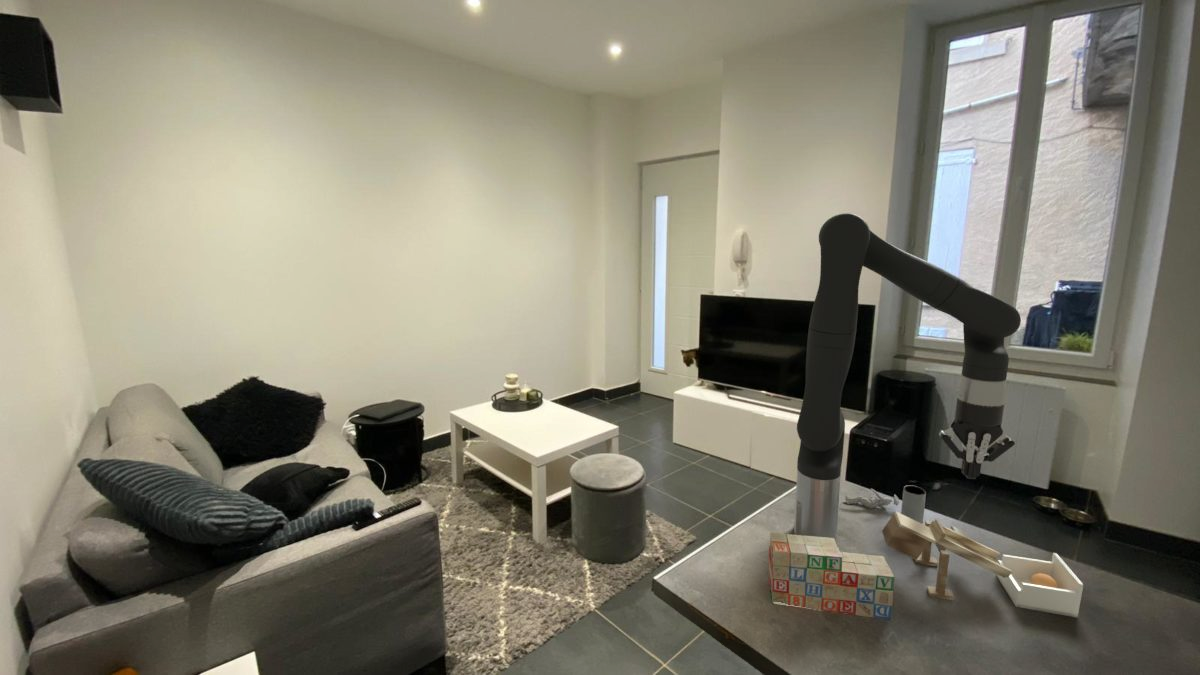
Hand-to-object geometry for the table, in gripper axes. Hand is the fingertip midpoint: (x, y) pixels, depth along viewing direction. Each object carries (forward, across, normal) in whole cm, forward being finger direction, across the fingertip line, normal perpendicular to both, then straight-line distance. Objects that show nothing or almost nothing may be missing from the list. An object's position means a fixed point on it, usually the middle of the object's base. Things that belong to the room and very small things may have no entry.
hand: (969, 476), depth 100 cm
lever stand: (+20, -7, -7) cm, 23 cm away
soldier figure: (+21, -14, +19) cm, 32 cm away
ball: (+18, +12, -7) cm, 22 cm away
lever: (+17, -7, -4) cm, 19 cm away
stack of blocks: (+21, -28, -20) cm, 40 cm away
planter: (+21, -6, +11) cm, 24 cm away
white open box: (+20, +10, -7) cm, 24 cm away
